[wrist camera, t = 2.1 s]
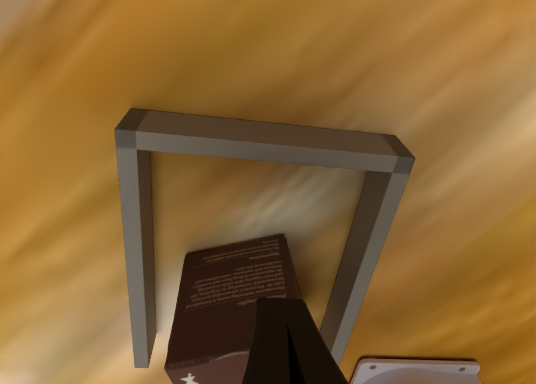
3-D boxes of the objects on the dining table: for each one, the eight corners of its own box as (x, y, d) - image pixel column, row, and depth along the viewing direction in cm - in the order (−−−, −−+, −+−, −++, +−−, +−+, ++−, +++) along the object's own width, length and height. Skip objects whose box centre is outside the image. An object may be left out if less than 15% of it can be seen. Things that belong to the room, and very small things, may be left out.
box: (212, 319, 25) (202, 441, 18) (183, 251, 21) (158, 369, 15) (303, 302, 24) (324, 420, 18) (287, 230, 21) (306, 342, 15)
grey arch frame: (395, 135, 18) (415, 158, 16) (328, 339, 26) (336, 372, 24) (130, 108, 17) (114, 129, 15) (143, 333, 25) (134, 367, 23)
